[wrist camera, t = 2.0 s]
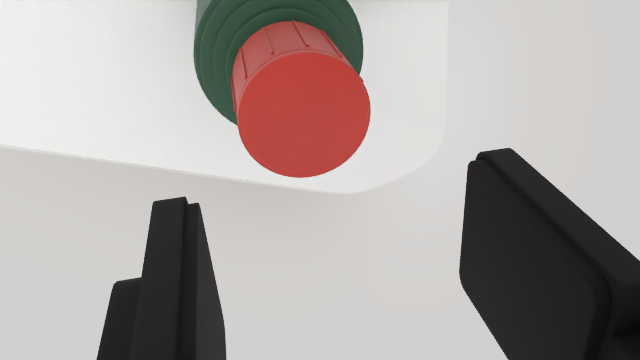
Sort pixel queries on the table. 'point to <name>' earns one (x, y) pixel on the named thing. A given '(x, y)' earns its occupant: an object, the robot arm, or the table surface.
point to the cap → (298, 100)
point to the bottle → (247, 18)
